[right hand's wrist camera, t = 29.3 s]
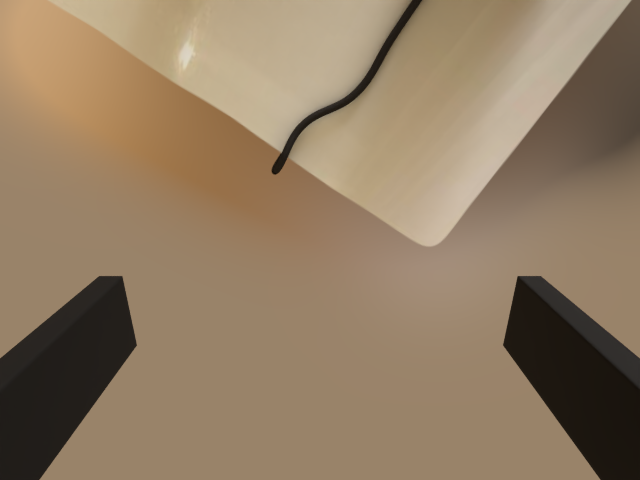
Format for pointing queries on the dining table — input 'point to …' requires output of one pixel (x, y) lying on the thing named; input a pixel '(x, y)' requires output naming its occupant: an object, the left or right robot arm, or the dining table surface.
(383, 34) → the dining table surface
